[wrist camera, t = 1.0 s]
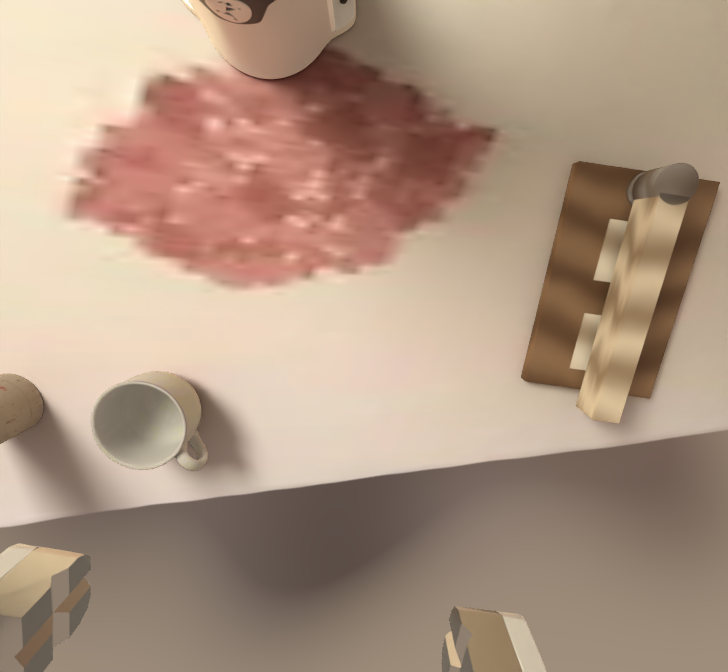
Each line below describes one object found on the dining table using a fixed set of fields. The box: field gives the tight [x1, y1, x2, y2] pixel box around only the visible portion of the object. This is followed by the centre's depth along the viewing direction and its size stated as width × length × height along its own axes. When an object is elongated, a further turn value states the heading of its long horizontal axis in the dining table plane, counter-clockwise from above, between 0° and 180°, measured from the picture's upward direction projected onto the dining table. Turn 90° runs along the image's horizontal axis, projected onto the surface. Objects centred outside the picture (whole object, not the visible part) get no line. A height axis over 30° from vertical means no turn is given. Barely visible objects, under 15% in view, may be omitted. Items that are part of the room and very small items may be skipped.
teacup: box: [91, 371, 208, 471], centre depth 49 cm, size 14×11×8 cm
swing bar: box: [576, 163, 699, 423], centre depth 45 cm, size 28×4×4 cm, turn 172°
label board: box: [521, 161, 720, 398], centre depth 48 cm, size 26×16×2 cm, turn 172°
